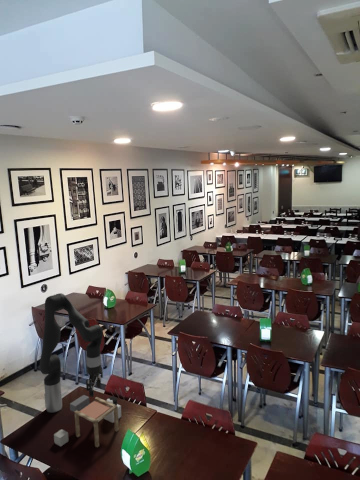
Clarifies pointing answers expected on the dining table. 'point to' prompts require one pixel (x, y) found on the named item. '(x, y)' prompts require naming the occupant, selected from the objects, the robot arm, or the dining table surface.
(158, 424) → the dining table surface
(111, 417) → the medicine bottle
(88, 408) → the trapdoor
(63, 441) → the light gray cube
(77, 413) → the stand
